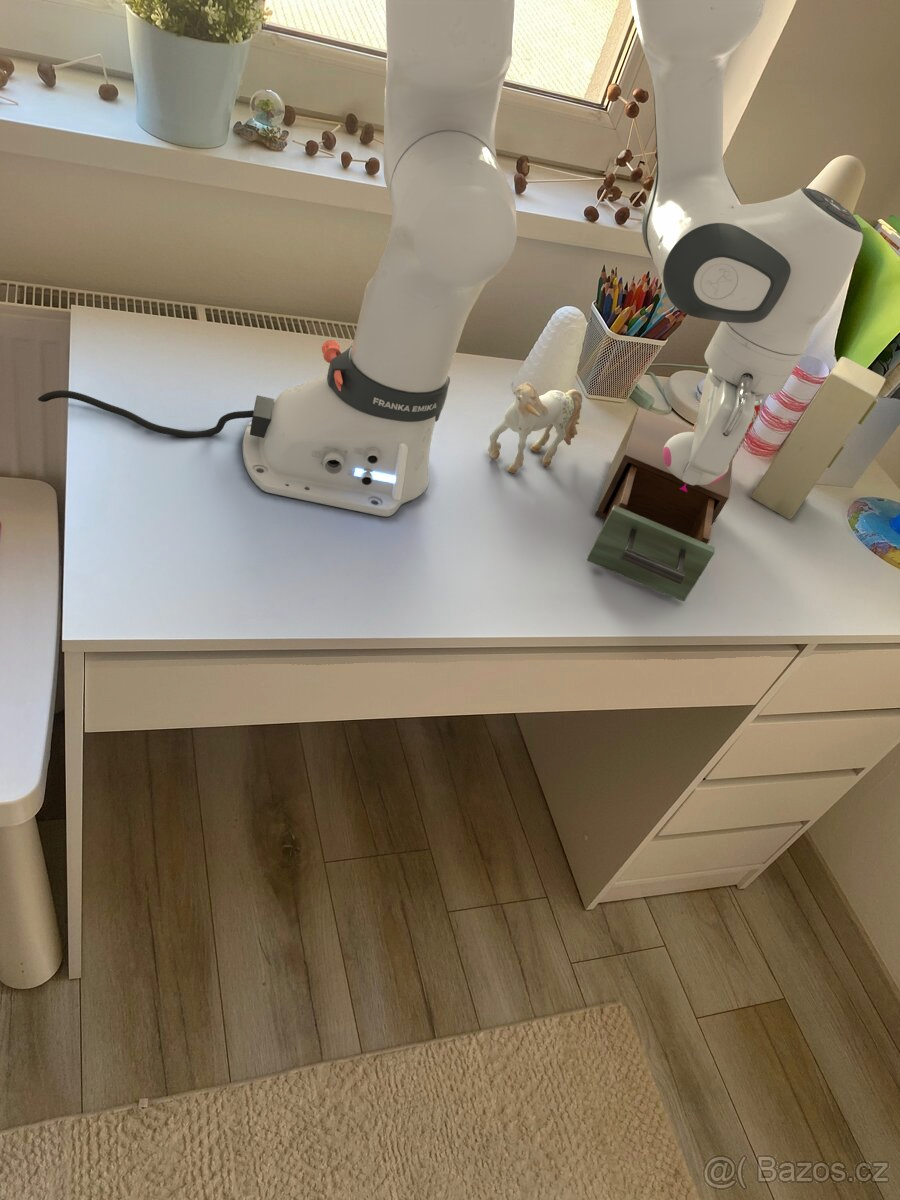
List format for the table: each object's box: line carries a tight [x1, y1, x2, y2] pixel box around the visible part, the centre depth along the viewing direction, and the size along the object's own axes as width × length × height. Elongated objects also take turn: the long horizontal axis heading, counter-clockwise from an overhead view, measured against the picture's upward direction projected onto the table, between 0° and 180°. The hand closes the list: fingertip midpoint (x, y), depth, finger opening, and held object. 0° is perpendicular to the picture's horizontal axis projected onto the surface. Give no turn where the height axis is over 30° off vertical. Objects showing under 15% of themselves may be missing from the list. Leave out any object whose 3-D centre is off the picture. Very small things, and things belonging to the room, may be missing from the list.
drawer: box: [586, 464, 716, 602], centre depth 107 cm, size 18×12×8 cm
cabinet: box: [594, 406, 734, 528], centre depth 118 cm, size 14×14×10 cm
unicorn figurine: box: [488, 381, 583, 474], centre depth 115 cm, size 7×20×13 cm, turn 147°
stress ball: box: [663, 432, 729, 492], centre depth 103 cm, size 8×8×7 cm
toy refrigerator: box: [750, 356, 886, 520], centre depth 126 cm, size 8×7×21 cm
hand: (691, 464), depth 103 cm, fingers closed on stress ball, 6 cm apart
